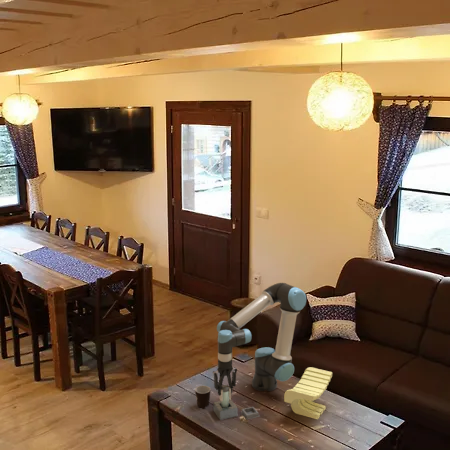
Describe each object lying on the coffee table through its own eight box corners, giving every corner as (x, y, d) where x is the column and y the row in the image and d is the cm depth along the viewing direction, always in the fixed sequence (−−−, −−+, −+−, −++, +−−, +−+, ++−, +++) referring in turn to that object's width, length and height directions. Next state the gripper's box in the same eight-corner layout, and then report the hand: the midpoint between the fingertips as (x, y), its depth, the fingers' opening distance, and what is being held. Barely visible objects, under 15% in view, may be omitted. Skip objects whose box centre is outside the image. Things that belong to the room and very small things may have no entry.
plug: (229, 408, 305) (229, 387, 303) (223, 409, 304) (223, 389, 301) (227, 404, 309) (227, 384, 306) (220, 406, 307) (220, 385, 305)
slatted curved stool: (304, 394, 329) (305, 365, 325) (331, 401, 321) (332, 372, 317) (283, 419, 303) (284, 388, 299) (312, 427, 295) (312, 396, 292)
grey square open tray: (253, 410, 312) (253, 405, 311) (260, 418, 304) (260, 412, 304) (240, 413, 309) (240, 408, 308) (246, 421, 301) (246, 416, 301)
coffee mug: (208, 410, 312) (208, 394, 310) (193, 409, 314) (193, 392, 312) (213, 399, 323) (213, 383, 321) (198, 398, 325) (198, 382, 323)
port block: (230, 408, 314) (230, 398, 313) (237, 417, 305) (237, 407, 303) (213, 412, 310) (213, 402, 309) (220, 421, 301) (220, 411, 300)
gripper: (236, 353, 307) (236, 393, 312) (207, 358, 301) (207, 399, 306) (242, 359, 300) (242, 399, 305) (212, 364, 294) (212, 405, 299)
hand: (225, 399), depth 305 cm, fingers closed on plug, 4 cm apart
